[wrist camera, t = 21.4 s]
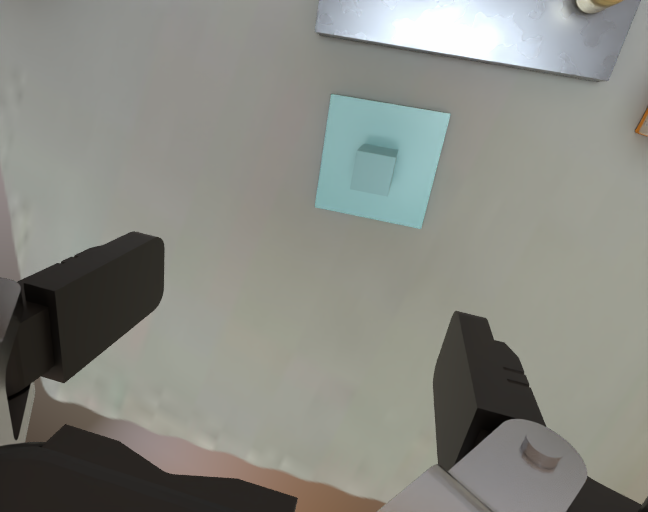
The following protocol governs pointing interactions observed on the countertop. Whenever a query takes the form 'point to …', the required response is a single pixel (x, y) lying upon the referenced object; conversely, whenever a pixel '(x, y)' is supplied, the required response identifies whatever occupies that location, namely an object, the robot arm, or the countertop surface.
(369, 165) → the cover
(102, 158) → the countertop surface
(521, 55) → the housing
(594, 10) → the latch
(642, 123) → the supplement box
